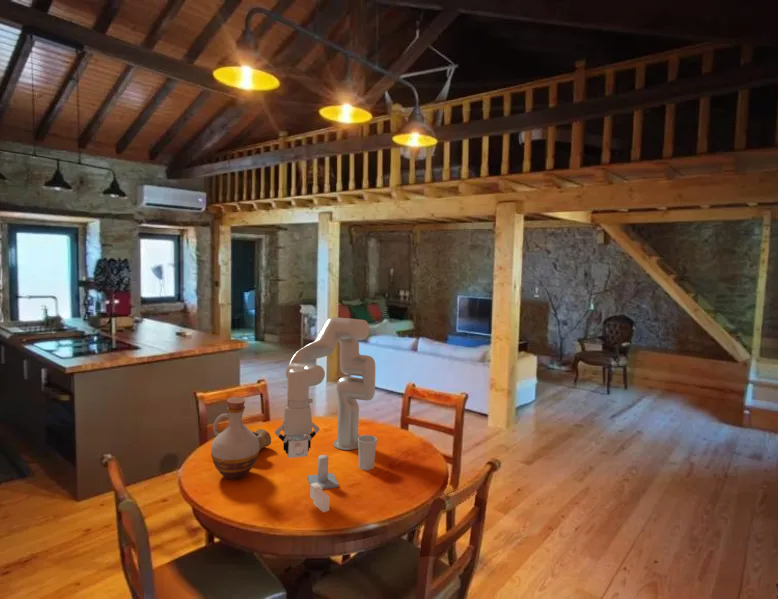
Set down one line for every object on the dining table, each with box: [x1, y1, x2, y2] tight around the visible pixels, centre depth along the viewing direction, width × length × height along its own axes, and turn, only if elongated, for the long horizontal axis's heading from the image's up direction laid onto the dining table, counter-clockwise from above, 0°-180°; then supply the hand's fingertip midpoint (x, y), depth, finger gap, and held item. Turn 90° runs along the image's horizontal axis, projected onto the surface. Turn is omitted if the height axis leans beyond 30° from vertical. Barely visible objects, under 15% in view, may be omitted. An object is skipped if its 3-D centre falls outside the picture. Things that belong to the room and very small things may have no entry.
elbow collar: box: [287, 434, 309, 459], centre depth 171 cm, size 10×7×6 cm, turn 19°
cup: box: [357, 434, 378, 471], centre depth 196 cm, size 8×8×12 cm
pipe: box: [251, 428, 272, 451], centre depth 205 cm, size 9×16×10 cm, turn 169°
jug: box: [210, 396, 260, 481], centre depth 184 cm, size 20×18×30 cm
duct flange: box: [306, 454, 340, 490], centre depth 181 cm, size 10×10×10 cm
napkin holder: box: [309, 483, 331, 513], centre depth 166 cm, size 15×11×6 cm
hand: (297, 450), depth 172 cm, fingers closed on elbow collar, 6 cm apart
